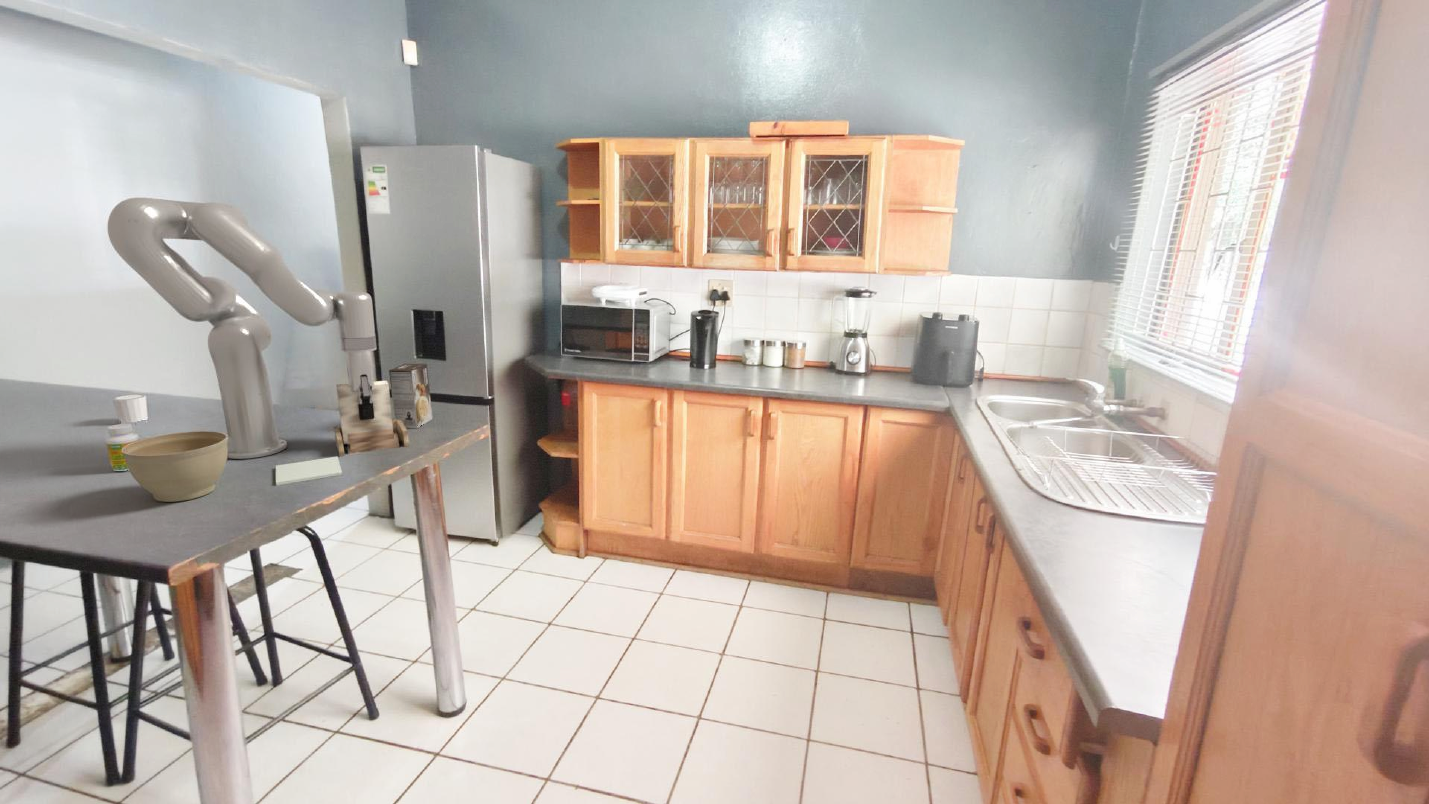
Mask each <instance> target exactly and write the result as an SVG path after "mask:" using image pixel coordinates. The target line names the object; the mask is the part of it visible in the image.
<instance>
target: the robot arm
mask: <svg viewBox="0 0 1429 804" xmlns="http://www.w3.org/2000/svg"><path fill="white" fill-rule="evenodd" d="M107 235H108V238H109V239H108V240H109V241H110V243H111V245H112V247H113V248H114V251H115V252H116V253H117V254H118V256H119V257H120V258H121V259H122V260H123V261H124V262H125V263H126V264H127V265H128V266H129V267H130V268H131V269H132V270H134V271H135V272H136V273H137V274H138V275H139V276H140V277H141V278H142V279H143V280H144V281H145V282H146V283H147V284H148V285H149V286H150V288H152V289H153V290H154V291H155V292H156V294H158V295H159V297H161V298H162V299H163V300H164V301H166V303H168V305H170V306H171V308H173V309H174V311H175V312H176V313H178V314H179V316H181V317H183V319H186V320H188V321H190V322H197V323H201V322H208V323H209V324H211V326H213V327H212V328H211V330H210V331H209V333H208V337H207V349H208V351H209V355H210V358H211V361H212V363H213V366H214V370H215V373H216V378H217V379H216V380H217V382H218V389H219V394H220V398H221V404H222V405H221V406H222V409H223V416H224V420H225V427H226V431H227V432H226V435H227V437H228V442H227V448H228V454H227V459H230V460H231V459H232V460H244V459H245V460H247V459H254V458H262V457H266V456H271V455H274V454H278V453H279V452H282V451H284V450H286V448H287V447H288V444H287V441H286V440H284V439H281V438H279V437H278V430H277V424H276V418H275V417H276V416H275V411H274V405H273V398H272V392H271V385H270V380H269V374H268V371H267V370H268V369H267V367H266V363H265V360H264V357H263V353H262V352H263V351H264V350H266V349H267V348H268V347H270V345H271V343H272V341H273V338H274V337H273V335H274V334H273V329H272V326H271V324H269V322H268V321H267V320H266V319H265V317H264V316H263V315H262V314H261V313H260V312H259V311H258V310H257V309H256V308H255V307H253V305H252V304H251V303H250V302H249V301H248V300H247V299H246V298H245V297H243V295H241V294H240V293H239V291H238V290H237V289H235V288H234V287H233V286H232V285H231V284H229V283H228V282H227V281H224V280H223V279H221V278H217V277H213V276H203V275H201V274H200V273H199V272H198V271H197V270H196V269H195V268H193V267H192V266H191V265H190V264H189V263H188V261H187V260H186V259H185V258H184V257H183V256H182V255H180V254H179V253H178V252H177V251H176V250H174V249H172V247H170V246H169V245H168V244H167V243H166V242H165V241H164V240H165V239H168V240H169V239H170V240H171V239H172V240H173V239H175V240H189V241H203V242H204V243H205V244H207V245H208V246H210V247H211V249H213V250H214V251H216V252H217V253H218V254H220V255H221V256H222V257H224V258H225V259H226V260H228V261H229V262H230V263H231V264H232V265H233V266H235V267H236V268H238V270H240V271H241V272H243V273H244V274H245V275H246V276H247V277H248V278H249V279H250V280H251V281H252V283H253V284H254V285H255V286H256V287H257V288H258V289H259V291H261V292H262V293H263V294H264V295H265V296H266V298H268V299H269V300H270V301H272V303H273V304H274V305H276V306H277V307H278V308H280V309H281V310H282V311H284V312H285V313H286V314H287V315H288V316H290V317H292V318H293V320H295V321H297V322H298V323H299V324H302V325H304V326H307V327H313V328H314V327H319V326H323V325H324V324H326V323H329V322H332V321H337V322H338V331H339V339H340V351H341V352H343V353H344V352H345V353H346V367H347V368H346V369H347V379H348V381H347V382H348V384H349V385H350V387H351V392H353V393H355V391H358V397H359V404H358V408H359V418H360V420H368V419H374V408H373V403H372V396H371V391H373V390H374V382H375V379H374V377H375V376H374V374H375V373H374V363H373V355H372V354H373V353H372V352H373V351H376V350H377V338H376V330H375V319H374V309H373V308H374V306H373V300H372V299H373V298H372V296H371V295H370V294H369V293H368V292H364V291H345V292H344V291H343V292H338V291H337V292H336V291H330V290H321V289H319V290H313V289H311V288H310V287H309V286H308V285H306V284H305V283H304V282H303V281H301V280H300V279H299V277H297V276H296V275H295V274H294V273H293V272H292V271H291V270H290V269H289V268H288V266H287V265H286V263H285V262H284V259H283V256H282V254H281V253H280V251H279V250H278V249H277V247H275V246H273V245H272V244H271V243H270V241H268V240H266V238H264V237H262V236H261V235H260V234H259V233H258V232H257V231H255V230H254V229H252V228H251V227H250V226H249V224H248V220H247V217H246V216H245V215H244V213H243V212H242V211H241V210H239V209H238V208H236V207H234V206H232V205H229V204H227V203H220V202H219V203H218V202H205V203H204V202H194V201H182V200H171V199H162V198H161V199H160V198H152V197H131V198H126V199H123V200H122V201H120V202H119V203H117V204H116V205H115V206H114V207H113V209H112V210H111V212H110V214H109V216H108V221H107ZM370 386H372V387H370ZM368 388H369V389H368ZM360 389H362V390H363V391H360ZM361 394H363V395H362V396H361Z"/></svg>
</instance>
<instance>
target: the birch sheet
mask: <svg viewBox="0 0 1429 804" xmlns="http://www.w3.org/2000/svg"><path fill="white" fill-rule="evenodd" d="M335 385H336V394H337V402H338V411H339V418H340V420H339V421H340V426H341V431H342V440H343V445H347V444H348V435H347V434H355V433H363V432H372V431H380V430H389V429H392V430H393V425H392V420H393V416H392V405H391V395H390V384H389V382H388V381H387V380H378V381H374V390H373V391H371V396H372V403H373V408H374V419H368V420H360V418H359V408H358V404H359V397H358V391H355V393H353V392H351V387H350V385H349V383H342V384H335ZM370 387H372V386H370ZM368 389H369V388H368ZM360 391H363V390H362V389H360ZM362 395H363V394H361V396H362Z"/></svg>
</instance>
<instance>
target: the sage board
mask: <svg viewBox="0 0 1429 804" xmlns="http://www.w3.org/2000/svg"><path fill="white" fill-rule="evenodd" d="M338 457H339V456H331V457H325V458H318V459H313V460H305V461H298V462H291V463H285V464H277V465H275V484H276V485H275V486H282V485H287V484H289V485H290V484H295V483H301V482H306V481H312V480H313V481H315V480H319V479H324V478H332V477H337V476H342V475H343V470H342V468H341V463H340V459H339V458H338Z"/></svg>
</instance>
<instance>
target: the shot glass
mask: <svg viewBox="0 0 1429 804" xmlns="http://www.w3.org/2000/svg"><path fill="white" fill-rule="evenodd" d="M111 400H112V403H113V405H114V409H115V412H116V414H117V416H118V417H117V418H118V420H119V422H120V421H121V422H137V421H141V420H147V419H148V405H147V396H146V395H145V394H139V393H138V394H126V395H121V396H117V397H114V398H112V399H111ZM148 420H149V419H148Z"/></svg>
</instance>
